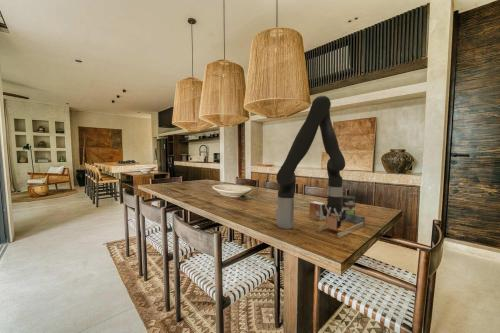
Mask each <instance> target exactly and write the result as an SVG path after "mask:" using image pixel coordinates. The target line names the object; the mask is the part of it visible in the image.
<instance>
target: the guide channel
mask: <svg viewBox="0 0 500 333" xmlns="http://www.w3.org/2000/svg"><path fill="white" fill-rule="evenodd" d="M365 220H366V217H365V216H363V215H357V214H355V215H354V214H349V213H347V215H346V219H345V220H343V221H341V224H342V223H343V222H346V223H347V222H348V223H352V224H355V225H353V226H350V227H348V228H346V229H344V230H342V231H341V230H340V231H339V232H337V234H336V237H337V238H338V239H340V238H342V237H343V236H345V235H348V234H349V233H352V232H354V231H356V230H359V229H360V228H362V227H364V226H365V224H366V223H365V222H366V221H365ZM327 229H328V228H327V223H326V224H323V225H320V226H318V227H317V231H318V232H323V231H325V230H327Z"/></svg>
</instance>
